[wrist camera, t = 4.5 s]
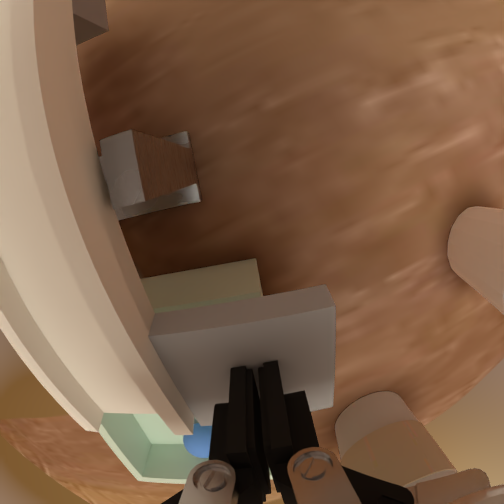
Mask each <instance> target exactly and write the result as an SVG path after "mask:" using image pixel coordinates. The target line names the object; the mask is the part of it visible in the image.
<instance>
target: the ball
mask: <svg viewBox="0 0 504 504" xmlns="http://www.w3.org/2000/svg"><path fill="white" fill-rule="evenodd" d="M211 431H212V426H201V425H200V424H199V423H196V424H194V426H193V435H184V436H183V443H184V446H185V448H186V450H187V451H188V452H189V453H190V454H192V455H193V456H196V457H199V458H208V457H209V450H210V440H211Z"/></svg>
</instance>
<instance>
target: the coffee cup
mask: <svg viewBox="0 0 504 504" xmlns="http://www.w3.org/2000/svg"><path fill="white" fill-rule="evenodd" d="M335 433H336V438H337V443H338V448H339V453H340V459H341V462H340V464H341V465H342V466H344V467H347V468H349V469H352V470H355V471H357V472H360V473H363V474H366V475H369V476H372V477H374V478H377V479H381V480H384V481H387V482H390V483H393V484H397V485H400V486H403V487H405V488H406V487H411V486H415V485H416V483H420V482H424V481H429V480H433V479H437V478H441V477H444V476H448V475H451V474H455V473H457V470H456V469H455V468H454V466H453V465H452V463H451V462H450V461H449V459H448V458H447V456H446V455H445V454H444V452H443V451H442V450H441V449H440V447H439V446H438V444H437V443H436V442H435V440H434V439H433V438H432V436H431V435H430V434H429V433H428V431H427V430H426V428H425V427H424V426H423V424H422V423H420V422H419V421H418V420H417V419H416V417H415V416H414V414H413V413H412V412H411V410H410V409H409V408H408V406H407V405H406V404H405V402H404V401H403V400H402V398H401V397H400V396H399V395H398V394H396V393H394V392H390V391H381V392H376V393H372V394H369V395H366V396H364V397H362V398H360V399H358V400H357V401H355V402H353V403H352V404H351V405H349V406H348V407H347V408H346V409H345V410H344V411H343V412H342V413H341V414H340V416H339V417H338V419H337V421H336V423H335Z"/></svg>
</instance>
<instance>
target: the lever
mask: <svg viewBox="0 0 504 504" xmlns="http://www.w3.org/2000/svg"><path fill="white" fill-rule="evenodd" d="M107 31H109V28H108V21H107V13H106V4H105V0H0V329H1V330H2V332H3V333H4V335H5V336H6V338H7V339H8V341H9V342H10V344H11V345H12V346H13V348H14V349H15V350H16V352H17V353H18V355H19V356H20V357H21V359H22V360H23V361H24V362H25V364H26V365H27V367H28V368H29V369H30V370H31V372H32V373H33V374H34V375H35V377H36V378H37V379H38V380H39V381H40V383H41V384H42V385H43V386H44V387H45V388H46V390H47V391H48V392H49V393H50V394H51V395H52V397H54V399H55V400H56V401H57V402H58V403H59V404H60V405H61V406H62V407H63V408H64V409H65V410H66V411H67V413H68V414H69V415H70V416H71V417H72V418H73V419H74V420H75V421H76V422H77V423H78V424H79V425H80V426H82V427H83V428H84V429H85V430H86V431H94V432H99V428H100V425H101V421H102V417H103V414H104V413H125V414H158V415H159V416H160V418H161V419H162V420H163V421H164V423H165V424H166V425H167V426H168V427H169V429H170V430H171V431H172V432H173V433H174V435H193V426H194V416H195V418H196V419H197V421H198V422H199V424H200V425H201V426H212V422H213V413H214V406H215V404H219V403H228V402H229V385H230V369H231V368H233V367H240V366H246V368H247V369H252V370H253V374H254V378H255V382H256V386H257V390H258V394H259V398H260V392H259V378H258V368H259V367H263V363H265V362H271V361H277V360H278V365H279V370H280V376H281V381H282V387H283V392H284V394H288V393H293V392H298V391H303V390H305V393H306V397H307V401H308V405H309V408H310V412H311V411H316V410H321V409H325V408H329V407H333V397H334V378H335V348H336V305H335V303H334V301H333V299H332V296H331V294H330V292H329V290H328V288H327V286H326V284H324V285H319V286H314V287H309V288H304V289H299V290H294V291H289V292H284V293H278V294H273V295H267V296H262V297H256V298H250V299H245V300H239V301H233V302H227V303H221V304H215V305H208V306H202V307H196V308H189V309H182V310H175V311H168V312H161V313H155V312H154V310H153V308H152V306H151V303H150V301H149V299H148V296H147V294H146V292H145V289H144V287H143V285H142V282H141V280H140V277H139V275H138V272H137V270H136V267H135V265H134V262H133V260H132V257H131V255H130V252H129V249H128V247H127V244H126V241H125V238H124V236H123V233H122V230H121V227H120V224H119V221H118V218H117V216H116V213H115V210H113V208H112V203H111V199H110V194H109V191H108V188H107V184H106V181H105V178H104V174H103V171H102V167H101V164H100V160H99V156H98V152H97V149H96V145H95V141H94V137H93V133H92V129H91V124H90V120H89V115H88V111H87V106H86V101H85V96H84V91H83V86H82V80H81V74H80V68H79V62H78V55H77V48H76V45H78V44H81V43H83V42H85V41H87V40H89V39H91V38H93V37H96V36H98V35H100V34H103V33H105V32H107Z"/></svg>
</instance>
